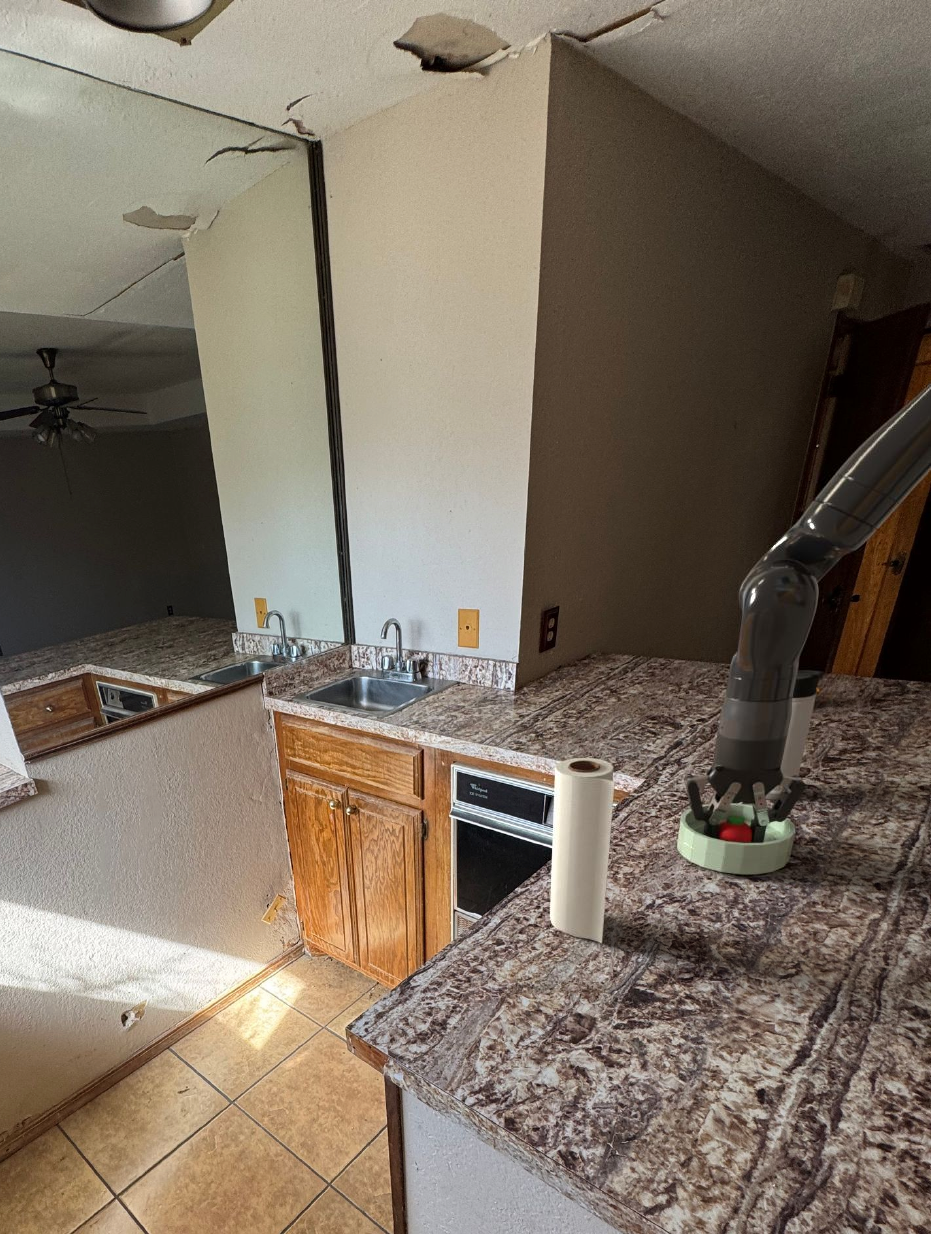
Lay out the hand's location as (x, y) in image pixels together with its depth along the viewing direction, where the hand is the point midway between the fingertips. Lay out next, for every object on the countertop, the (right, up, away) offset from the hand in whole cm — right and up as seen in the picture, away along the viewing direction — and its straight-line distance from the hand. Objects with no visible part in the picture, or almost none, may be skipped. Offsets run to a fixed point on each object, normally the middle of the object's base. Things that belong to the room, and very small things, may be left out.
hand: (731, 845), depth 90 cm
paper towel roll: (-26, -10, -9) cm, 29 cm away
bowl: (0, -1, +1) cm, 1 cm away
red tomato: (0, 0, 0) cm, 1 cm away
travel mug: (+17, +8, +15) cm, 24 cm away
